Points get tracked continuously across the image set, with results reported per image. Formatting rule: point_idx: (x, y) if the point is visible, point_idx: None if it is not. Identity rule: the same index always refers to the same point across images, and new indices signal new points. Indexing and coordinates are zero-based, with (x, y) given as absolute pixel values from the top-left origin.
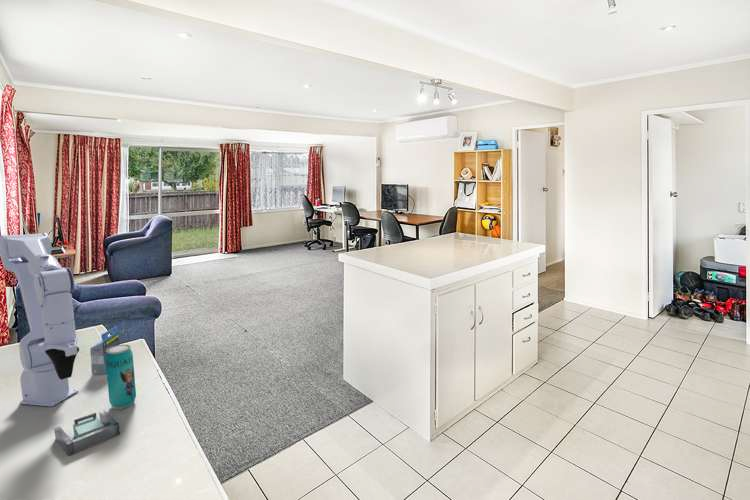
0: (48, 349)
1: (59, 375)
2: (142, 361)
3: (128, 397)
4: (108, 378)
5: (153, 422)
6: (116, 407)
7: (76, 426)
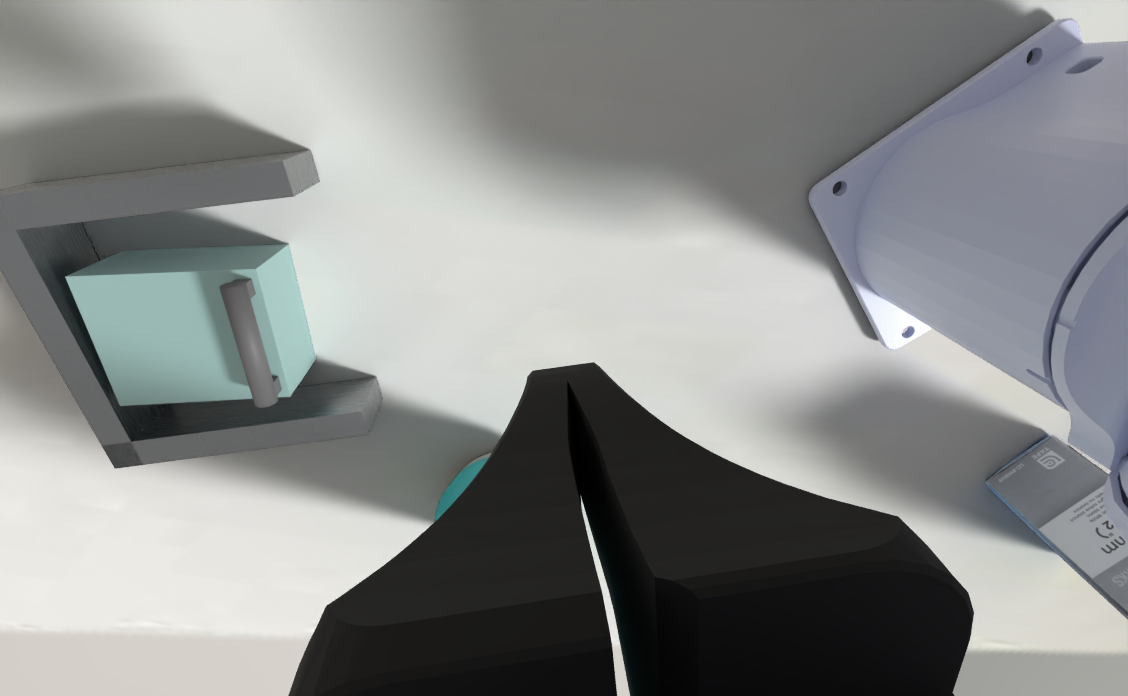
0: (966, 630)
1: (522, 394)
2: None
3: None
4: None
5: (197, 553)
6: (465, 467)
7: (201, 281)
